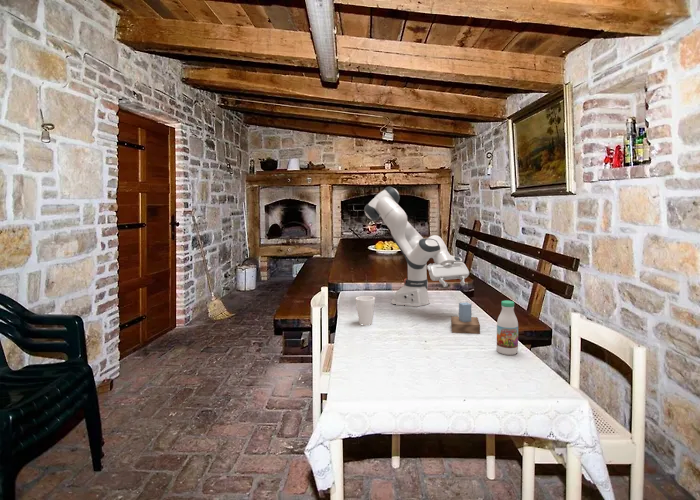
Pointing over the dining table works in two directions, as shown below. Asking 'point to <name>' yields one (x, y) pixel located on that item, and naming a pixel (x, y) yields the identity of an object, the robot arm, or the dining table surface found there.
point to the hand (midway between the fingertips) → (454, 285)
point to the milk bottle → (507, 329)
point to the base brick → (465, 325)
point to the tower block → (465, 312)
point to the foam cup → (365, 309)
